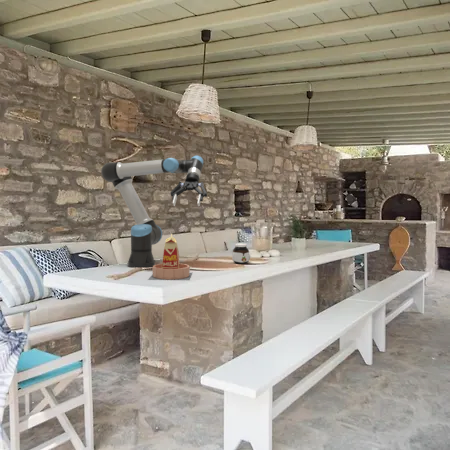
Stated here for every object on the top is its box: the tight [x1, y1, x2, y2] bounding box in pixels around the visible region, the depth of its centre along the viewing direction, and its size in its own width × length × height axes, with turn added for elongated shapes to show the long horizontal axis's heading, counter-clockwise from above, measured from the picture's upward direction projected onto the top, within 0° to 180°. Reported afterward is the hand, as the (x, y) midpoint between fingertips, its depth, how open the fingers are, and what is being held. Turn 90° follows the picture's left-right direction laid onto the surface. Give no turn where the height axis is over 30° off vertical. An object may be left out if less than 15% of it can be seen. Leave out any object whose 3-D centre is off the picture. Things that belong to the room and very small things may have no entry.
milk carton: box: [161, 233, 181, 269], centre depth 220 cm, size 9×9×20 cm
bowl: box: [152, 263, 191, 281], centre depth 220 cm, size 18×18×5 cm
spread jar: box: [232, 242, 251, 265], centre depth 268 cm, size 12×11×12 cm
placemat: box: [147, 272, 193, 281], centre depth 220 cm, size 20×20×1 cm
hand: (185, 204), depth 235 cm, fingers open, 13 cm apart
